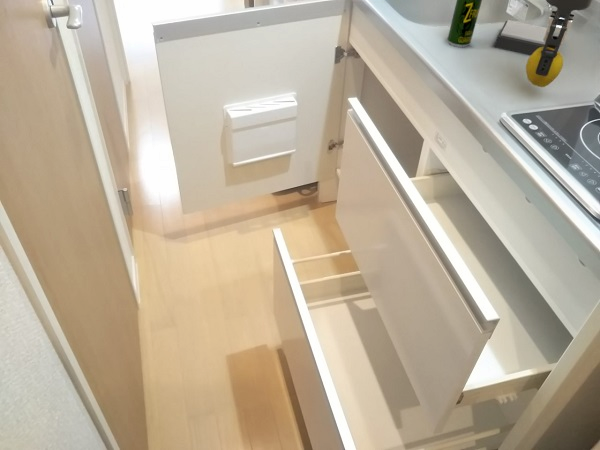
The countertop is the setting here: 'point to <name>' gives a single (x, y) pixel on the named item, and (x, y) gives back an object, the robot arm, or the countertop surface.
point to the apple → (552, 73)
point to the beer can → (463, 22)
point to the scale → (521, 37)
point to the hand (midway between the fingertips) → (543, 66)
